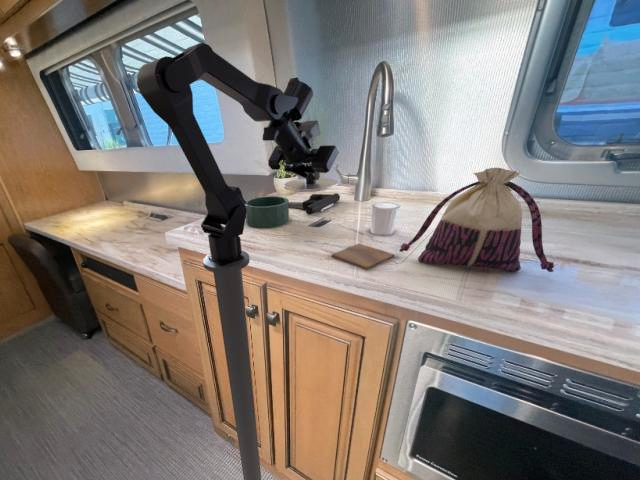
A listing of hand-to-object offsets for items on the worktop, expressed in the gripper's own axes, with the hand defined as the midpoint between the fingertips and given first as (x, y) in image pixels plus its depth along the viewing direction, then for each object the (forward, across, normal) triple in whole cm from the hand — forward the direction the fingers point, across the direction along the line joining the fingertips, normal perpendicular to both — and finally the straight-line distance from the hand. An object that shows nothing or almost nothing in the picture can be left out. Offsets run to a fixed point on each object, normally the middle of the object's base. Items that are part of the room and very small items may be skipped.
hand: (313, 178), depth 85 cm
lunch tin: (+7, +14, +12) cm, 20 cm away
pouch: (+6, -41, +13) cm, 43 cm away
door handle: (+22, +13, -2) cm, 25 cm away
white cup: (+14, -18, +6) cm, 24 cm away
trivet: (+1, -23, +18) cm, 29 cm away
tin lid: (0, 0, +2) cm, 2 cm away
